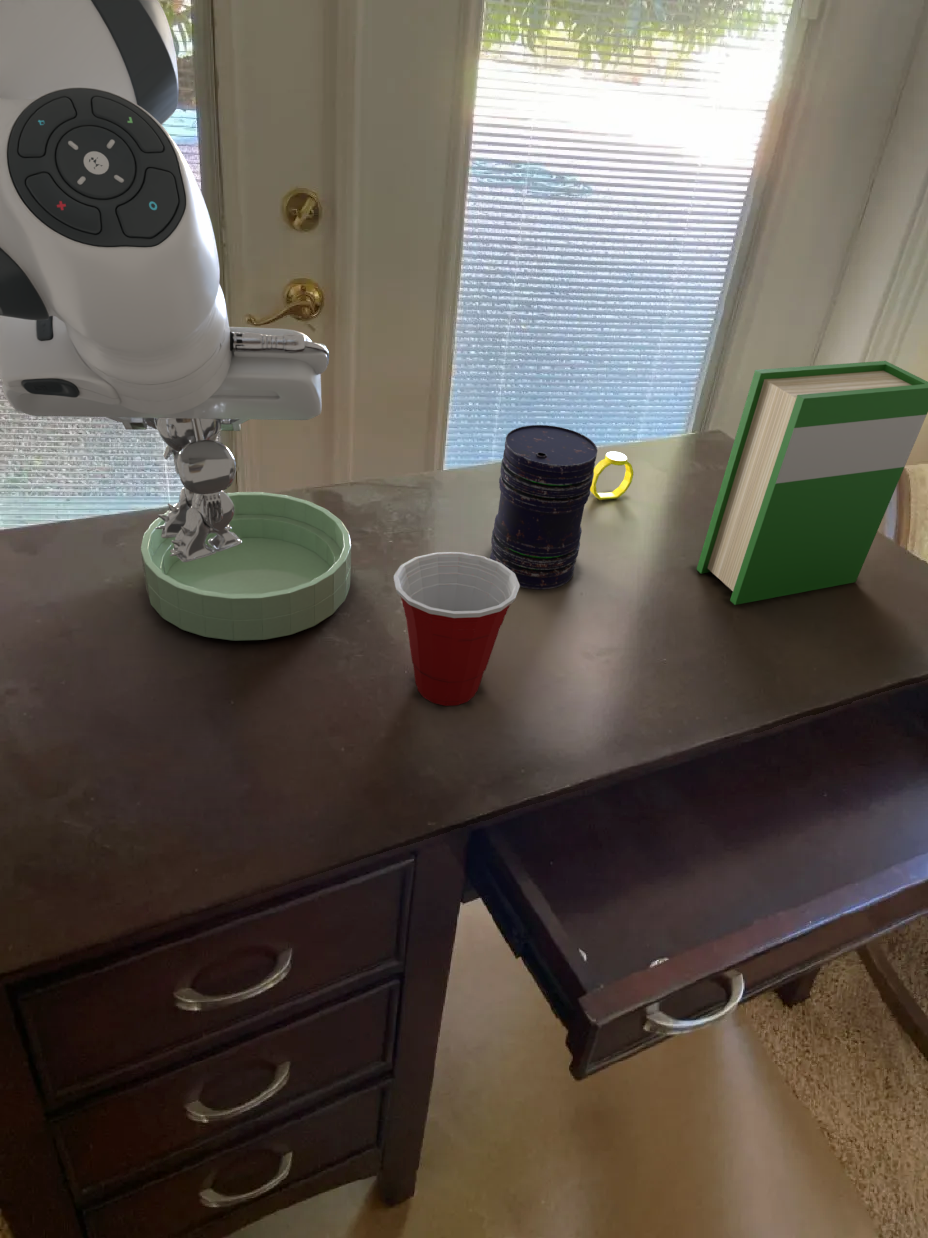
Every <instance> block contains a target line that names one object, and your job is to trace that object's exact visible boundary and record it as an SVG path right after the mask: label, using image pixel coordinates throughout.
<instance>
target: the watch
mask: <svg viewBox="0 0 928 1238" xmlns="http://www.w3.org/2000/svg"><path fill="white" fill-rule="evenodd" d="M611 465H613V466H624V467H625V472H624V477H623V479H622V481H621V483H620V484H619V486H618V487H617V488H615V489H613V491H610V492H598V489H597V482H598V480H599V477H600V475H601V474H602V473H603V472H604V470H605V469H606V468H608V467H609V466H611ZM634 473H635V472H634V469H633V465H632V463H630V461H628V457H627V455H625V454H624V453H622V452H619V451H608V452H606V454H605V456H604V458H603V459H601V460H599V461H598V463H597V464H595V466H594V476H593V481H592V486H591V487H590V493H591V494H592V495H593V496H594V497H595V498H596V499H597V500H599V501H602V500H613V499H614V500H615V499H619V498H620V497H622V496H623V495H624V494H625V493H627V491H628V489H629V488H630V486H631V485H632V483H633V478H634Z"/></svg>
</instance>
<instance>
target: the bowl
mask: <svg viewBox="0 0 928 1238" xmlns="http://www.w3.org/2000/svg"><path fill="white" fill-rule="evenodd" d="M226 494H227V495H228V496H229V497H230V499H231V500H232V502H233V504H234V507H235V512H234V516H233V518H232V520H231V522H230V523H229V525H230V526H231V529H230V530H229V531H230V532H234V533H235V534H236V535H237V536H238V537H239V538H240V539H241V540H242V543H241V544H239V545H237V546H234V547H231V548H229V549H226V550H223V551H220V552H217V551H216V553H215V554H212V555H210V556H206V557H203V558H200V559H196V560H193V561H189V562H182V561H181V560H180V559H179V558H178V557H177V556H170V555H171V554H172V553H171V552H170V550H172V549H174V543H172V542H171V541H173V540H175V538H176V537H171V538H162V537H161V535H162V529H155V528H156V527H159V526H162V525H164V523H165V521H164V520H162V519H161V518H160V517H158V518H157V519H155V520H154V521H153V522H152V523H151V524H150V525H149V527H148V528H147V529H146V531H145V532H144V533H143V536H142V540H141V545H140V555H141V562H142V569H143V577H144V584H145V589H146V593H147V597H148V601H149V604H150V606H152V608H153V609H154V610H155V611H156V612H157V613H158V615H159V616H160V617H161V618H162V619H163V620H165V621H167V622H168V623H170V624H172V625H173V626H175V627H177V628H179V629H180V630H181V631H186V632H187V633H188V632H189V633H192V634H195V635H198V636H201V637H205V638H209V639H210V638H212V639H217V640H226V641H235V642H236V641H237V642H239V641H262V640H263V641H265V640H271V639H276V638H281V637H286V636H291V635H294V634H296V633H299V632H302V631H304V630H305V631H306V630H307V629H310V628H313V627H315V626H317V625H318V624H320V623H321V622H323V621H325V620H326V619H327V618H329V617H331V616H333V615H334V613H335V612H336V611H337V610H338V609H339V608H340V607H341V605H342V604H343V603H345V601H346V599H347V596H348V594H349V591H350V587H351V573H352V571H351V567H352V566H351V565H352V544H351V543H352V542H351V535H350V532H349V530H348V529H347V527H346V525H345V524H344V523H343V521H342V520H341V519H340V518H339V517H337V516H336V515H335V514H333V512H330V510H329V509H327V508H325V507H322V506H320V505H318V504H317V503H314V502H312V501H309V500H306V499H303V498H298V497H295V496H291V495H287V494H280V493H274V492H273V493H272V492H266V491H265V492H263V491H237V492H227V493H226ZM168 512H169V510H167V511H166V512H165V513H164V514H162V515H167V513H168ZM215 536H216V534H214V533H212V534H208V536H207V538H206V540H205V544H207V545H208V546H210V547H211V548H212V549H214V548H213V547H212V546H211V545H210V544H209V543H208V541H209V539H211V538H213V537H215ZM214 550H215V549H214Z"/></svg>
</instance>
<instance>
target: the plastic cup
mask: <svg viewBox="0 0 928 1238" xmlns="http://www.w3.org/2000/svg"><path fill="white" fill-rule="evenodd" d="M393 581H394V582H393V583H394V587H395V590H396V594H397V595H398V596H399V597H400V600H401V602H402V607H403V610H404V616H405V620H406V621H405V622H406V627H407V635H408V643H409V649H410V651H409V652H410V656H411V663H412V665H413V673H414V681H415V682H414V683H415V686H416V688H417V692H419V694H420V695H421V696H422V698H424V699H425V700H427V701H429V702H430V703H433V704H436V705H440V706H446V707H447V706H459V705H462V704H466V703H468V702H469V701H471V700H472V699H473V698H474V697H475V696H476V693H477V692H478V690H479V687H480V686H481V683H482V682H481V681H482V679H483V676H484V673H485V671H486V670H487V666H488V664H489V661H490V658H491V656H492V652H493V650H494V646H495V645H496V641H497V638H498V636H499V632H500V629H501V626H503V622H504V619H505V617H506V615H507V613H508V610H509V609H510V606H511V605H512V604H513V603H514V602H515V600H516V598H517V595H518V592H519V590H520V588H521V587H520V584H519V582H518V580H517V577H516V575H515V573H513V572H512V571H511V570H510V569H508V568H507V567H506V566H504V565H503V564H502V563H499V562H497V561H494V560H492V559H490V557H486V556H484V555H480V554H474V553H467V552H462V551H441V552H439V551H438V552H437V551H436V552H432V553H428V554H422V555H418V556H415V557H413V558H411V559H409V560H408V561H405V562H403V563H402V564H400V565H399V567H398V568H397V570H396V571H395V573H394V575H393Z"/></svg>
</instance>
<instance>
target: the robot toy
mask: <svg viewBox="0 0 928 1238" xmlns="http://www.w3.org/2000/svg"><path fill="white" fill-rule="evenodd" d="M145 420H146V422H147V427H149V428H151V429H153V430H156V431H157V432H158V435H159V436H160V438H161V440H162V441H163V442H164V443H165V444H166V446H165V449H164V452H163V458H164V460H165V461H166V460H168V458H170V457H171V455H172V460H173V465H174V469H175V473H176V475H178V477H179V479H180V482H181V484H182V486H183V487H182V488H181V490H180V492H179V496H178V501H177V502H176V503H175V504H174V505H172V504H171V503H170V502H169V503H167V506H168V508H169V510H168V511H169V512H168V511H167V512H168V513H167V515H163V514H156V516H157V517H158V518H159V517H160V518H161V519H162V520H164V521H165V523H164V525H162V526H159V527H156V528H155V529H162V535H161V537H162V538H171V537H176V538H175V540H173V541H171V542H172V543H174V549H172V550H170V552H171V553H172V554H171V555H170V556H177V557H178V558H179V559H180V560H181V561H182V562H189V561H193V560H196V559H200V558H203V557H206V556H210V555H212V554H215V553H216V551H217V552H220V551H223V550H226V549H229V548H231V547H234V546H237V545H239V544H241V543H242V540H241V539H240V538H239V537H238V536H237V535H236V534H235V533H234V532H230V531H229V530H230V529H231V526H230V525H229V523H230V522H231V520H232V518H233V516H234V512H235V507H234V504H233V502H232V500H231V499H230V497H229V496H228V495H227V493H226V492H225V491H226V490H227V489H229V488H230V487H231V486H232V485H233V483H234V481H235V479H236V475H237V474H236V473H237V464H236V459H235V457H234V454H233V453H232V451H231V449H230V448H229V447H228V446H227V445H226V444H224V443H223V442H220V441H218V440H217V439H218V436H219V433H220V432H221V426H222V419H195V418H194V419H192V418H146V419H145ZM212 533H214V534H216V536H215V537H213V538H211V539H209V541H208V543H209V544H210V545H211V546H212V547H213V548H214V549H215V550H214V549H212V548H211V547H210V546H208V545H207V544H205V540H206V538H207V536H208V534H212Z"/></svg>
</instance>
